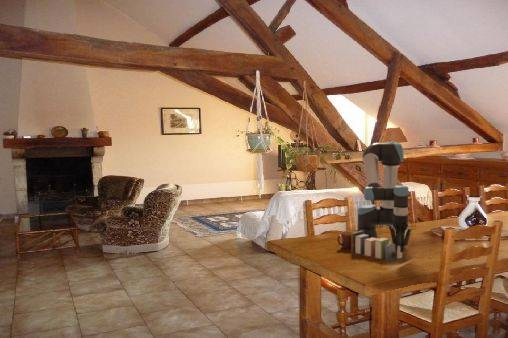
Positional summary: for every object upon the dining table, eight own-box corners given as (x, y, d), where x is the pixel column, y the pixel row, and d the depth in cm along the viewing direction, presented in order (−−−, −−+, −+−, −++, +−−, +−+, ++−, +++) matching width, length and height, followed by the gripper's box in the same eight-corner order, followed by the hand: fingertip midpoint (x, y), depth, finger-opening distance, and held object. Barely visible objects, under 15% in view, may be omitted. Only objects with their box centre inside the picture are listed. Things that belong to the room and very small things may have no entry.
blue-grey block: (354, 253, 265) (355, 236, 264) (362, 250, 270) (362, 233, 270) (360, 254, 262) (361, 237, 261) (368, 251, 267) (368, 235, 267)
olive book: (374, 257, 256) (375, 240, 255) (382, 254, 261) (382, 237, 260) (381, 259, 253) (381, 241, 252) (388, 256, 258) (389, 238, 257)
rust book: (364, 255, 260) (364, 239, 260) (372, 252, 266) (372, 237, 265) (371, 256, 257) (371, 241, 256) (378, 254, 263) (379, 238, 262)
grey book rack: (350, 255, 266) (351, 233, 265) (361, 251, 273) (361, 230, 272) (390, 264, 248) (390, 240, 247) (400, 260, 255) (400, 237, 254)
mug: (348, 247, 284) (348, 231, 283) (358, 250, 276) (358, 233, 275) (333, 249, 279) (333, 233, 278) (342, 253, 271) (342, 236, 270)
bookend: (385, 259, 251) (385, 245, 250) (392, 256, 256) (393, 242, 256) (391, 261, 248) (391, 246, 248) (398, 258, 254) (398, 243, 253)
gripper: (386, 214, 249) (385, 256, 251) (408, 217, 240) (407, 261, 242) (393, 212, 254) (392, 254, 256) (415, 215, 245) (414, 258, 247)
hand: (399, 257), depth 249 cm, fingers closed
